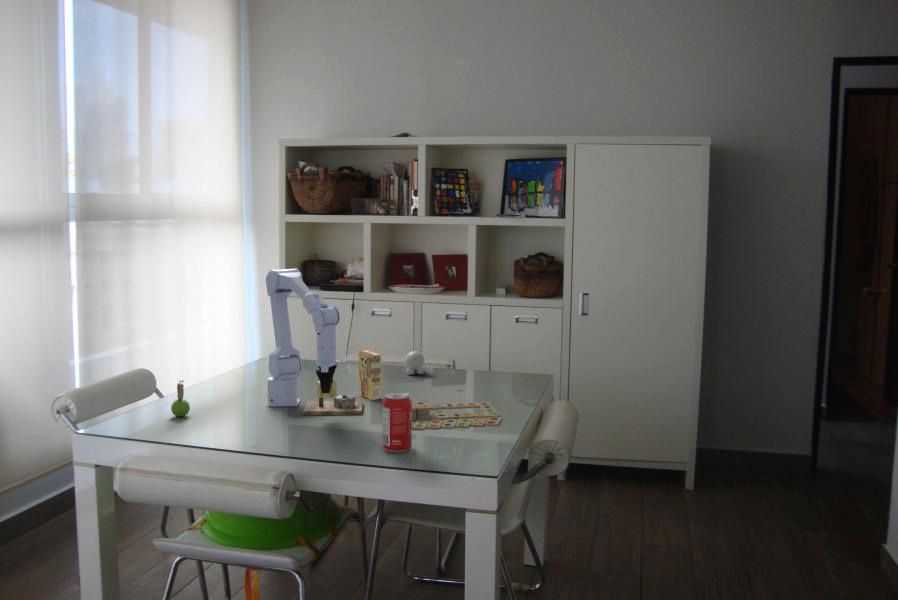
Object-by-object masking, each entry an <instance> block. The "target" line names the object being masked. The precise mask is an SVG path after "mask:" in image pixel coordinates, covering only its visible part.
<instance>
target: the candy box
mask: <svg viewBox="0 0 898 600" xmlns="http://www.w3.org/2000/svg"><path fill="white" fill-rule="evenodd" d="M381 356H382V355H381V354H380V353H377V352H375V351H372V350H363V351H362V350H361V351H358V374H359V375H358V381H359V396H361V397H363V398H366V399H368V400H370V401H375V400H381V399H382V365H381V363H382V362H381V361H382V358H381Z"/></svg>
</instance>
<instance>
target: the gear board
mask: <svg viewBox="0 0 898 600" xmlns="http://www.w3.org/2000/svg"><path fill="white" fill-rule="evenodd" d="M363 406H364V400H356V396H354V395H352V394H342V395H340V394H339V395H337V396H335V397H334V398H333V400H324V398H319V397H318V400H307V402H306V404H305V406H304V409H303V411H302V415H303V416H341V415H343V416H345V415H346V416H348V415H349V416H353V415H354V416H355V415H356V416H357V415H359V416H360V415H362V414H363Z"/></svg>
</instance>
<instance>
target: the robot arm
mask: <svg viewBox="0 0 898 600" xmlns="http://www.w3.org/2000/svg"><path fill="white" fill-rule="evenodd" d="M265 284H266V292H267V296H268V297H269V299H270V300H269V301H270V308H271V317H272V325H273V327H272V328H273V333H274V334H273V335H274V343H275V348H274V349H273V351H272V352H271V353H270V354H269V355H268V359H269V360H268V371H269V374H270V377H268V378H267V407H298V405H299V404H300V402H301V399H300V398H298V377H300V374H301V372H302V371H303V368H304V367H303V365H304V364H303V359H302V358H301V355H300V351H299V350H298V349H296V348H295V347H294V346H293V342H292V334H291V325H290V317H289V308H288V300H287V299H288V297H289V296H290V295H291V294H293V293H294V294H296V295H297V296H298V297H299V298H300V299H301V300H302V306H303V308H305V310H307V312H308V313H309V314H310V315H311V317H312V322H313V325H314V332H315V333H316V362H315V363H316V365H317V366H318V369H316V370H315V374H316V376H317V378H318V380H319V381H320V385H321V390H322V393H329V392H330V388H331V381H332V380H334V376H335V375H334V374H335V372H336V369H337V366H338V364H340V363H341V361H340V360H337V342H336V341H337V340H336V339H337V333H336V332H337V328H336V327H337V326H338V324H339V322H340V318H341V317H340V316H341V315H340V312H339V310H338V309H337V307H336V306H334V305H328V304H327V303H326V301H325V300H324V299H323V298H322V297H321V296H320V294H319V293H318V292H312V291H311V290H310V289H309V287H308V286H307V284H306V283H305V282H304V281H303V275H302V272H300V270H299V269H298V268H287V269H270V270H269V271H268V273H267V274H266V277H265Z"/></svg>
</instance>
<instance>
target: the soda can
mask: <svg viewBox="0 0 898 600" xmlns="http://www.w3.org/2000/svg"><path fill="white" fill-rule="evenodd" d="M412 402H413V401H412V399H411V397H410V394H409V393H407V392H390V393H386V394H385V395H384V399H383V400H382V403H381V404H382V406H381V407H382V408H381V409H382V411H381V413H382V448H383V449H384V450H385V451H387V452H389V453H393V454H394V453H395V454H396V453H397V454H398V453H405V452H407V451H408V450H409V451H410V449H411V448H412V446H413V436H412V435H413V430H412V422H413V421H412Z"/></svg>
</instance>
